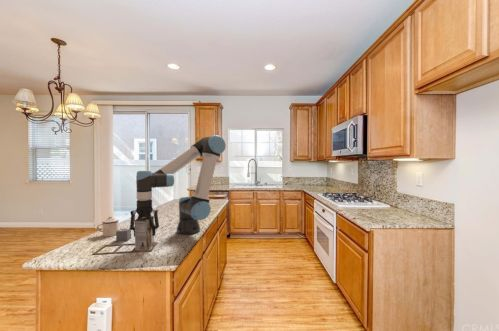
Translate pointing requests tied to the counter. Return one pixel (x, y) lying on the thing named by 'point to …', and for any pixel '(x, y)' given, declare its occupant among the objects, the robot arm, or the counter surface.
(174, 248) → the counter surface
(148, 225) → the coffee box
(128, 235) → the die
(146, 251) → the brown flat frame
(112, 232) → the teacup with lid
